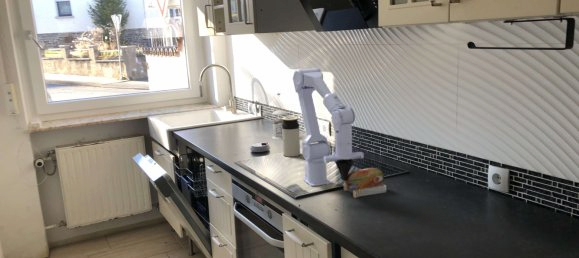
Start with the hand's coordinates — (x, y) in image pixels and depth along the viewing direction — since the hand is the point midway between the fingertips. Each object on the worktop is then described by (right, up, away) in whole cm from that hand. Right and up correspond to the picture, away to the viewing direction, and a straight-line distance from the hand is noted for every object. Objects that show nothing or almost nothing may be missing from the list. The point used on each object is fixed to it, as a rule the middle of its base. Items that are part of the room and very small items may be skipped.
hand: (344, 179), depth 171 cm
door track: (+8, -4, +4) cm, 10 cm away
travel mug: (-18, +5, +59) cm, 62 cm away
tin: (+8, -5, +3) cm, 10 cm away
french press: (-24, +13, +99) cm, 103 cm away
